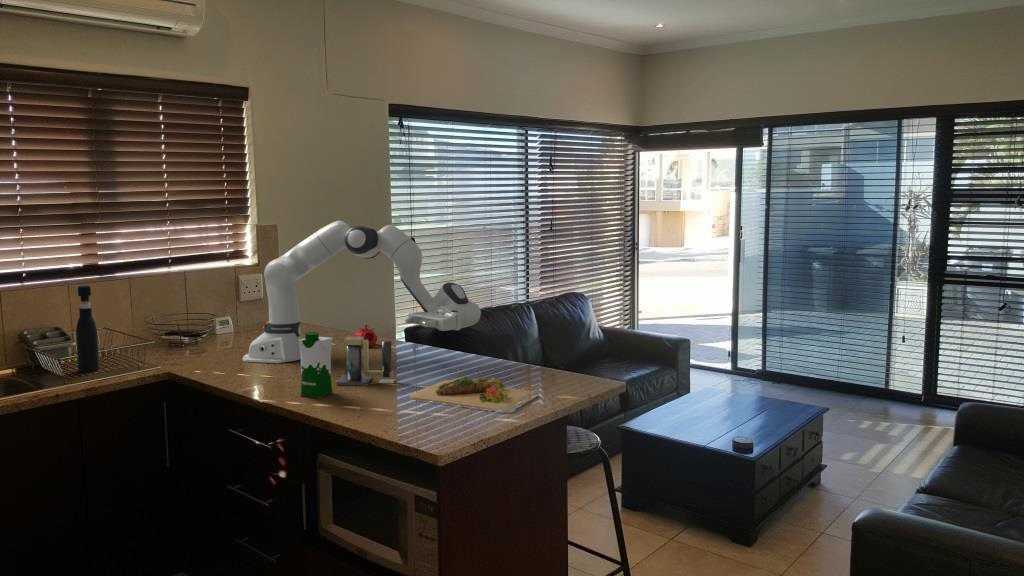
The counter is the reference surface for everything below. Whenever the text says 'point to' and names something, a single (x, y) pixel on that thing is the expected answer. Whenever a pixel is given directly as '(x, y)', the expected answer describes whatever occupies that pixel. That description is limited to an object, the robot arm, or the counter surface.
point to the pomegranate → (367, 335)
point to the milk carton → (315, 365)
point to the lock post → (356, 368)
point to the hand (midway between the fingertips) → (414, 322)
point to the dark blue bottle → (86, 334)
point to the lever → (386, 357)
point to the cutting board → (472, 393)
